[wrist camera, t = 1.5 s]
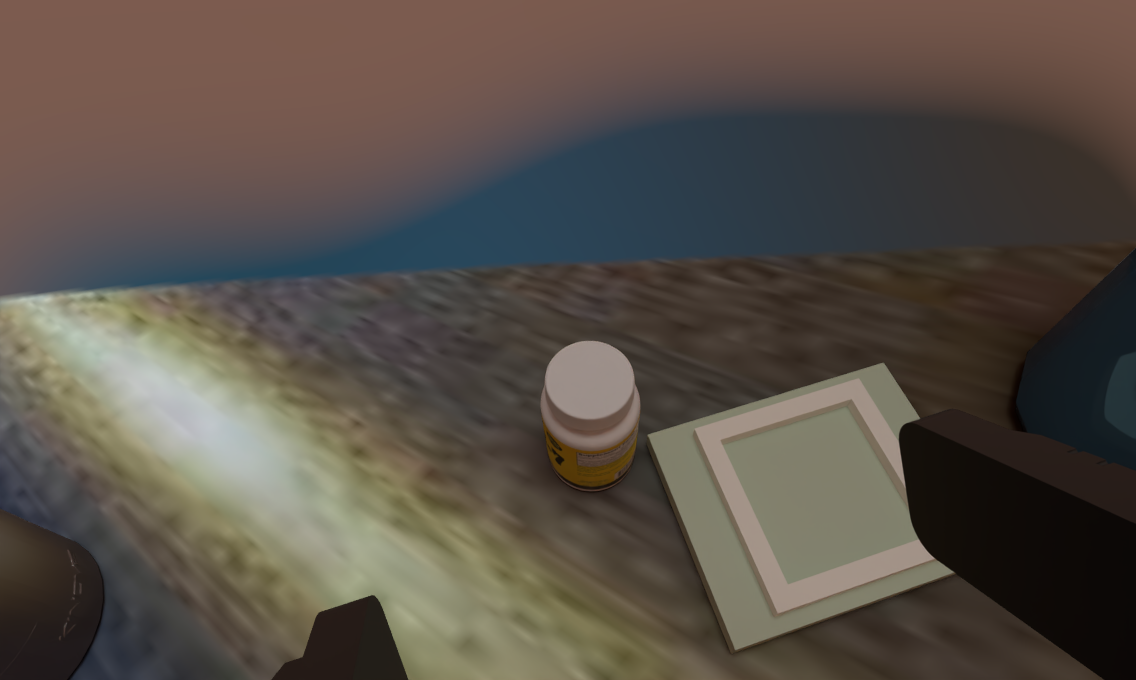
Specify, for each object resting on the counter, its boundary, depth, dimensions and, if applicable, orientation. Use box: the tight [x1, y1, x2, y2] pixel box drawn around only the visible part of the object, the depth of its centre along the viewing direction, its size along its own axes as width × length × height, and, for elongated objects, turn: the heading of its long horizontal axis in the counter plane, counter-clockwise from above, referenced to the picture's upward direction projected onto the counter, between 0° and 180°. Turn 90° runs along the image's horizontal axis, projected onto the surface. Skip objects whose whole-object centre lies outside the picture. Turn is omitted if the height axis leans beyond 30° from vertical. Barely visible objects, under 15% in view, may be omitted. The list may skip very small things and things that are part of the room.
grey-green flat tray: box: [646, 363, 956, 654], centre depth 34 cm, size 14×11×2 cm
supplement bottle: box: [541, 341, 640, 491], centre depth 33 cm, size 5×5×8 cm
